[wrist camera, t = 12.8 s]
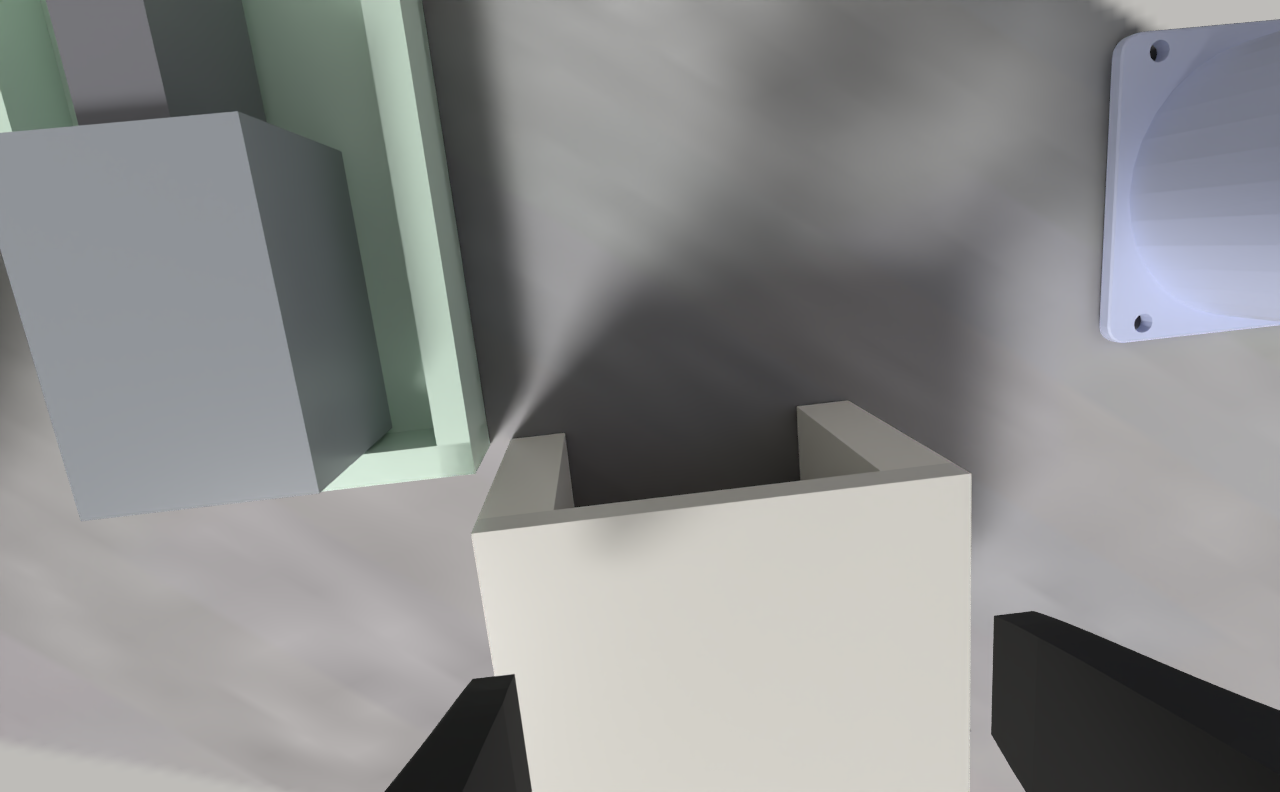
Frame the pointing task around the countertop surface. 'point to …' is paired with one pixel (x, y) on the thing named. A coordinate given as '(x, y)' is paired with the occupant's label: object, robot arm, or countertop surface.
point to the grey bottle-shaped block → (186, 271)
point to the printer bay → (739, 621)
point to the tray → (378, 187)
